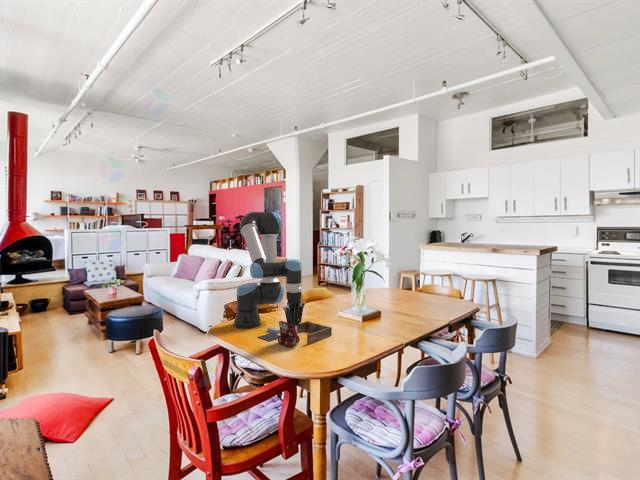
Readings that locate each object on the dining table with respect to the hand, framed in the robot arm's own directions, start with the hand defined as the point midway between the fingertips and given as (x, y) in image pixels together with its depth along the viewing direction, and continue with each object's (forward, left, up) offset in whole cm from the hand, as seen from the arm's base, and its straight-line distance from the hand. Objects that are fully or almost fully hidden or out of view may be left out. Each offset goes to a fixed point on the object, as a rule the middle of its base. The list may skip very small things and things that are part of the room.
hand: (294, 338), depth 178 cm
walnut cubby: (-1, +10, -2) cm, 10 cm away
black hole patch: (-14, -4, -2) cm, 15 cm away
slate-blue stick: (-19, +3, -2) cm, 20 cm away
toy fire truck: (0, -4, -2) cm, 4 cm away
